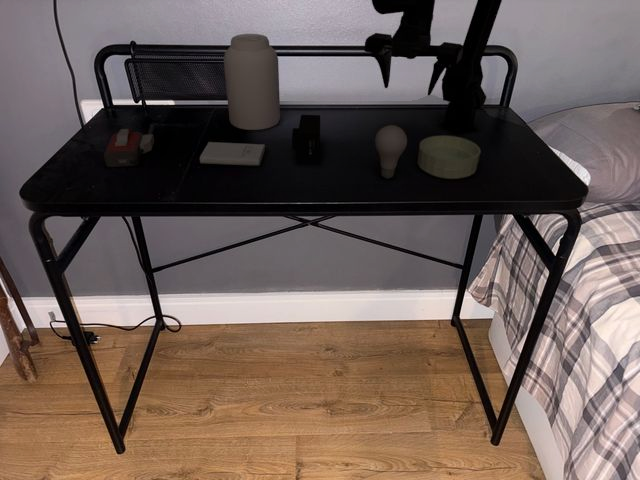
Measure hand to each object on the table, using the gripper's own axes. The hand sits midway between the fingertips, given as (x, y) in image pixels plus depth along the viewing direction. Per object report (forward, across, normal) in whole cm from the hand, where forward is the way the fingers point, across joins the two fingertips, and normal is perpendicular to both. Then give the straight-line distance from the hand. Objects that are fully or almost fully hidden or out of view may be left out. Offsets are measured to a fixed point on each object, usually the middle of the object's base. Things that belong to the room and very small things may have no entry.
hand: (407, 91), depth 104 cm
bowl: (+13, +11, -4) cm, 18 cm away
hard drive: (+14, -31, -19) cm, 39 cm away
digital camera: (+14, -18, -11) cm, 25 cm away
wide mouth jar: (+14, -37, 0) cm, 40 cm away
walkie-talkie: (+15, -53, -25) cm, 61 cm away
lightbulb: (+14, +2, -14) cm, 20 cm away
